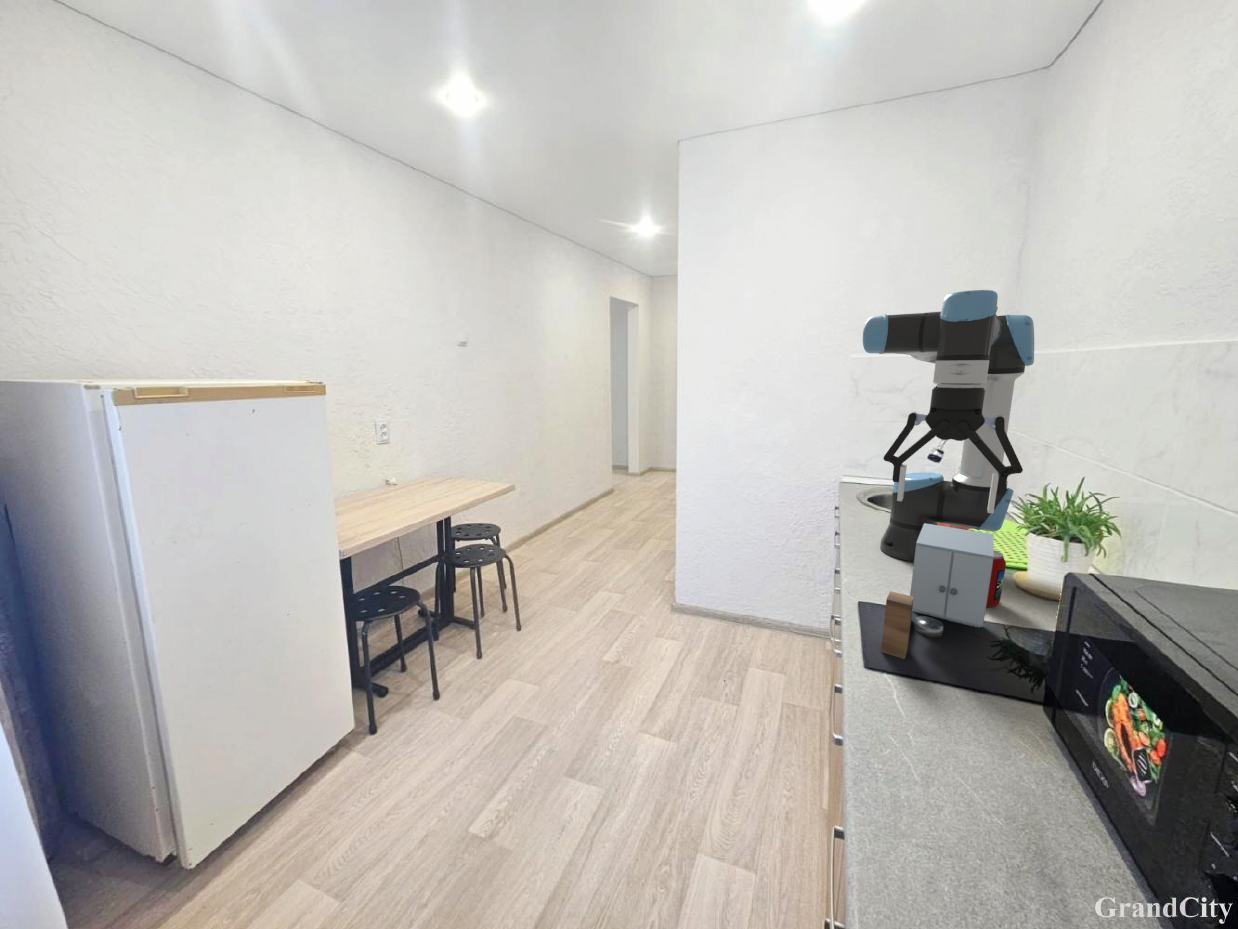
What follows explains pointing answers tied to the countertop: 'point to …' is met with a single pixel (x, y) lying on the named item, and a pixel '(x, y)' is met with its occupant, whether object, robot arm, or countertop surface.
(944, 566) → the cabinet
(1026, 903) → the countertop surface
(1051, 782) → the countertop surface
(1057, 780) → the countertop surface
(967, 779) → the countertop surface
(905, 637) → the upright wooden brick
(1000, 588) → the beverage can
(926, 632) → the token
